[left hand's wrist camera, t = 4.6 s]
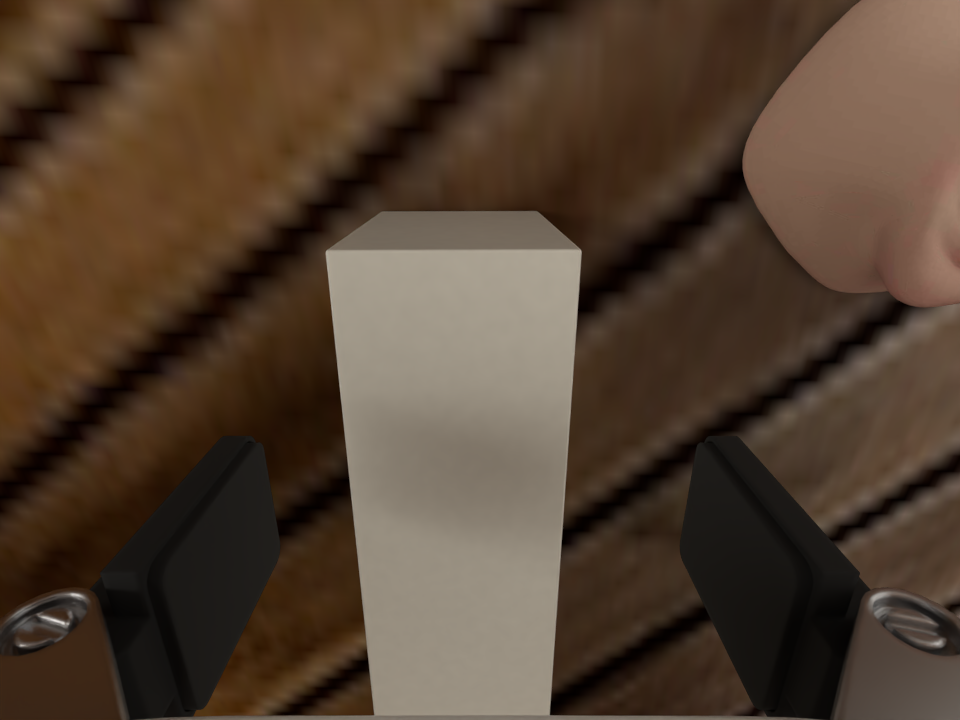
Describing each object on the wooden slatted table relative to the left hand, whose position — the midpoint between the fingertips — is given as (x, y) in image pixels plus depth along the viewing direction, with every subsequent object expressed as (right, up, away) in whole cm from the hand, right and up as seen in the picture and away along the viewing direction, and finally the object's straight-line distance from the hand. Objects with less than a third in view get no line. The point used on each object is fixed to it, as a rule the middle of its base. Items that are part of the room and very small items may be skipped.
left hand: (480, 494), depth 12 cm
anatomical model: (+16, +10, +7) cm, 20 cm away
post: (-1, -27, +22) cm, 34 cm away
